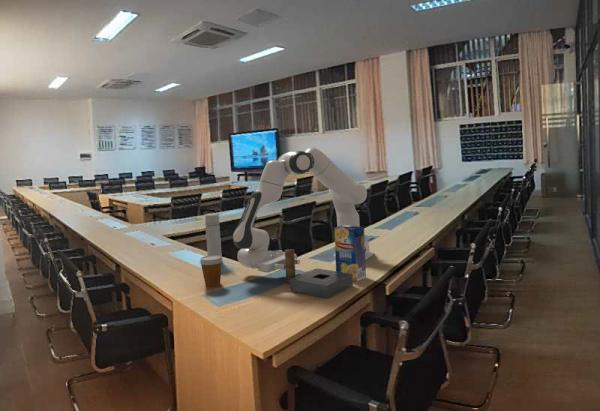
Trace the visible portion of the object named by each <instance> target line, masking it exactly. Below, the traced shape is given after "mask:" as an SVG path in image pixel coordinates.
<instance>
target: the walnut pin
mask: <svg viewBox="0 0 600 411" xmlns="http://www.w3.org/2000/svg"><path fill="white" fill-rule="evenodd" d="M284 252H285V265H286V269H285V278H286V279H285V281H286V284H287V285H290V279H291V278H294V277H296V276H297V275H296V264H295V256H294V254H295V249H285V250H284Z"/></svg>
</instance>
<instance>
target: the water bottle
mask: <svg viewBox="0 0 600 411" xmlns="http://www.w3.org/2000/svg"><path fill="white" fill-rule="evenodd" d="M204 216H205V219H204V221H205V222H204V224H203V225H204V226H205V238H206V249H207V250H206V251H207V256H210V255H219V256H221V258H222V242H221V228H220V227H221V226H220V223H221V222H220V217H219V216H220V215H219V213H206V214H205V215H204ZM222 259H223V258H222Z"/></svg>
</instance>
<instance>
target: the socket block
mask: <svg viewBox="0 0 600 411" xmlns="http://www.w3.org/2000/svg"><path fill="white" fill-rule="evenodd" d="M295 276H296V277H294V278H291V279H290V284H289V288H290V292H293V293H297V294H302V295H308V296H313V297H317V298H322V299H327V300H328V299H330V298H332V297H334V296H336V295H338V294H340V293H342V292H344V291H345V290H348V289H349V288H352V287H353V286H354V283H353V282H354V281H353V277H352V274H350V273H343V272H337V271H336V270H335V271H334V270H330V269H329V270H328V269H323V268H319V267H318V268H314V269H311V270H308V271H306V272H304V273H301V274H299V275H295Z"/></svg>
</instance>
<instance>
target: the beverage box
mask: <svg viewBox="0 0 600 411" xmlns="http://www.w3.org/2000/svg"><path fill="white" fill-rule="evenodd" d="M365 237H366V234H365V227H364V226H360V227H358V226H348V225H343V226H338V227H337V226H336V227H334V250H335V251H334V254H335V257H336V259H335V271H337V272H343V273H350V274H352V277H353V282H358V281H361V280H363V279H366V275H367V274H366V273H367V272H366V270H367V269H366V260H365V241H366V240H365V239H366V238H365ZM335 257H334V258H335Z"/></svg>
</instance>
